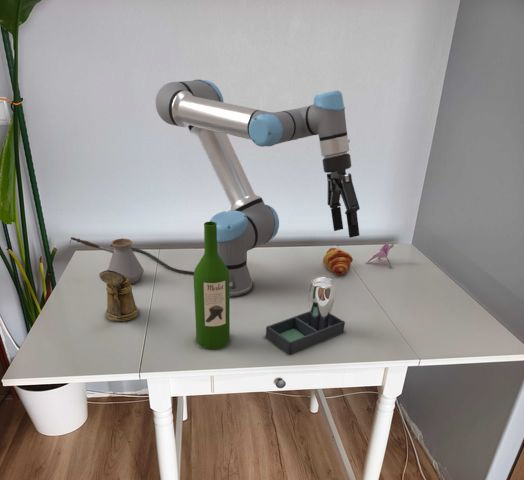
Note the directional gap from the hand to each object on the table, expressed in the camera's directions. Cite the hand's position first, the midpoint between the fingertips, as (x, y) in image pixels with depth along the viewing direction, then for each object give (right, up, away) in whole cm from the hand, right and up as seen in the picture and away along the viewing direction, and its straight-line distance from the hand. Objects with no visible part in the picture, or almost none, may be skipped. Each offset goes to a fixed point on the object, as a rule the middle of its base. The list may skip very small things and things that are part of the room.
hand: (346, 233), depth 143 cm
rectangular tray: (-12, -29, -4) cm, 32 cm away
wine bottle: (-37, -31, -8) cm, 49 cm away
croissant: (+3, -4, +36) cm, 36 cm away
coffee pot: (-74, -11, +21) cm, 77 cm away
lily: (+19, -2, +39) cm, 44 cm away
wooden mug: (-65, -25, 0) cm, 69 cm away
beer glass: (-8, -28, -1) cm, 29 cm away
